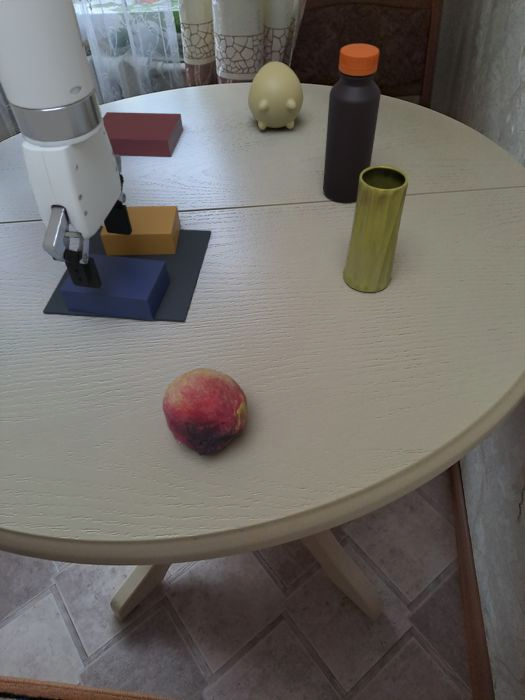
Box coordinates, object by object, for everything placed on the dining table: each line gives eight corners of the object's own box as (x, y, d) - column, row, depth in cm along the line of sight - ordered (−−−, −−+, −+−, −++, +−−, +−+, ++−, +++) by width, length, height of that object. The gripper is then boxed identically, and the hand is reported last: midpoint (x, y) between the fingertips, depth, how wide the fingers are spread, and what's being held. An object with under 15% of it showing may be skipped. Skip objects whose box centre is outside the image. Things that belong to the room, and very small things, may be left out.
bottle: (373, 200, 76) (395, 56, 61) (330, 207, 75) (343, 63, 60) (357, 177, 81) (375, 38, 65) (317, 183, 80) (325, 43, 65)
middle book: (68, 310, 62) (59, 289, 59) (91, 273, 66) (83, 252, 64) (153, 320, 60) (147, 299, 58) (170, 281, 65) (165, 260, 62)
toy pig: (299, 141, 96) (298, 85, 96) (306, 112, 84) (305, 49, 84) (248, 141, 96) (247, 85, 96) (248, 113, 84) (247, 49, 84)
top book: (106, 255, 69) (99, 234, 66) (116, 227, 73) (110, 206, 70) (175, 254, 68) (171, 233, 66) (181, 225, 73) (177, 205, 70)
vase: (390, 295, 63) (413, 194, 52) (341, 291, 63) (354, 190, 52) (390, 264, 66) (411, 164, 56) (344, 260, 67) (356, 161, 56)
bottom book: (93, 154, 88) (88, 138, 86) (111, 127, 95) (106, 111, 92) (170, 156, 87) (167, 140, 84) (183, 129, 93) (180, 113, 91)
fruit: (244, 397, 53) (239, 347, 47) (254, 461, 48) (250, 415, 42) (171, 407, 52) (156, 359, 46) (173, 473, 47) (158, 429, 41)
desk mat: (43, 313, 62) (42, 311, 62) (91, 227, 74) (91, 225, 74) (184, 322, 61) (184, 320, 60) (211, 232, 72) (211, 230, 72)
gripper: (61, 71, 52) (103, 212, 65) (-31, 156, 41) (41, 304, 54) (129, 76, 51) (158, 217, 64) (54, 164, 40) (107, 313, 53)
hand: (104, 257), depth 59 cm, fingers open, 9 cm apart
